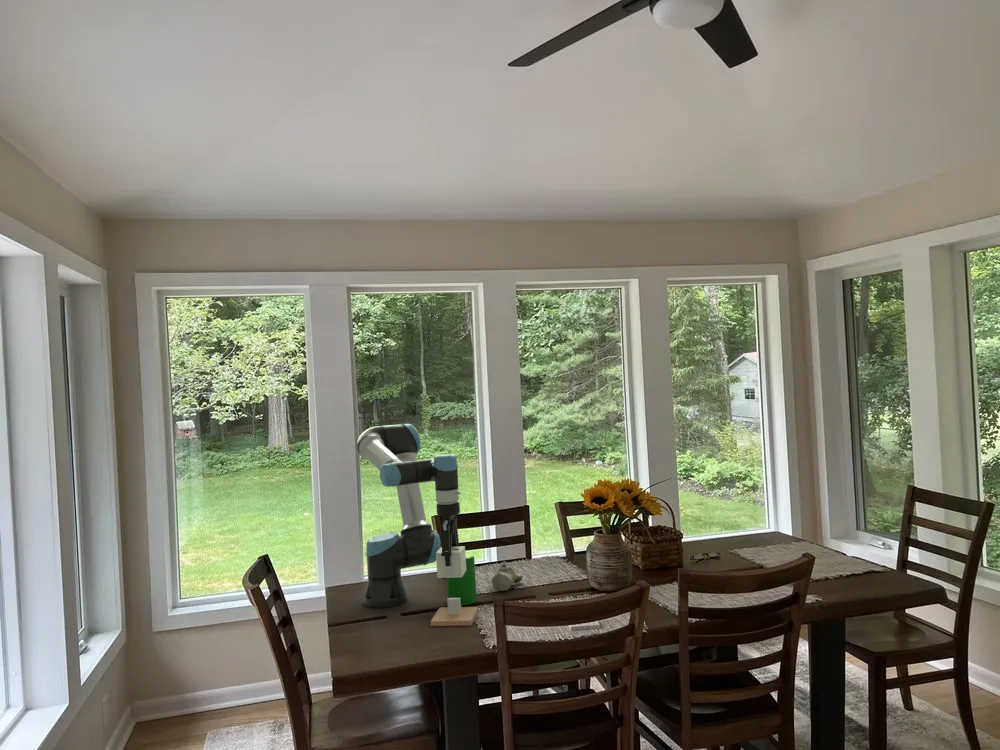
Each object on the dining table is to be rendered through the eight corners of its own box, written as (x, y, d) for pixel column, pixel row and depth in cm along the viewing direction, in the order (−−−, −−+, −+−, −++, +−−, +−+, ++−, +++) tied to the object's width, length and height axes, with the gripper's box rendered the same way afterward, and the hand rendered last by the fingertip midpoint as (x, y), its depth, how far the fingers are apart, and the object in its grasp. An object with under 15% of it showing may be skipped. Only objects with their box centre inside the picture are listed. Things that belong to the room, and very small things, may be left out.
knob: (437, 577, 229) (435, 552, 229) (442, 570, 237) (441, 546, 237) (461, 577, 228) (460, 551, 228) (466, 570, 236) (464, 545, 236)
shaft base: (430, 625, 227) (429, 605, 227) (439, 611, 240) (438, 592, 240) (471, 625, 225) (469, 604, 225) (478, 611, 238) (476, 591, 238)
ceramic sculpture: (484, 568, 258) (496, 559, 273) (485, 592, 258) (497, 582, 272) (513, 569, 255) (523, 560, 270) (513, 593, 255) (524, 583, 269)
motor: (479, 598, 252) (476, 541, 252) (470, 606, 244) (467, 548, 244) (453, 596, 256) (450, 541, 255) (443, 605, 247) (439, 547, 247)
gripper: (452, 508, 222) (457, 581, 222) (465, 496, 242) (469, 562, 242) (429, 508, 223) (433, 581, 223) (443, 496, 243) (447, 563, 243)
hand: (452, 571), depth 233 cm, fingers closed on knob, 8 cm apart
